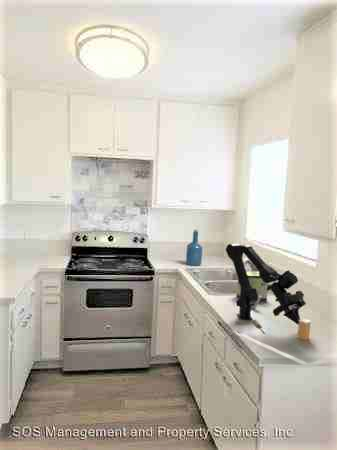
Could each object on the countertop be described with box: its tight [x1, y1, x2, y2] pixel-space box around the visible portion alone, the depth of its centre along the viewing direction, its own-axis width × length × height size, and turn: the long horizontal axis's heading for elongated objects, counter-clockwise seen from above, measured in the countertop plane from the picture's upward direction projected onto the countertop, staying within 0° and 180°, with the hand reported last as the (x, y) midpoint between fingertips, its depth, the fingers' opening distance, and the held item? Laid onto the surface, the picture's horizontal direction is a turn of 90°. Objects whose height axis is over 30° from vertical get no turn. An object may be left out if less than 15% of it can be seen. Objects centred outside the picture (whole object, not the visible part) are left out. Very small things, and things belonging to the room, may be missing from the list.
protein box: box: [236, 271, 269, 302], centre depth 220 cm, size 10×16×16 cm
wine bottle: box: [185, 229, 203, 267], centre depth 308 cm, size 14×13×30 cm
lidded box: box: [296, 317, 312, 341], centre depth 160 cm, size 4×4×8 cm
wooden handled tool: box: [251, 319, 266, 335], centre depth 170 cm, size 14×2×2 cm, turn 5°
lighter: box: [251, 295, 262, 310], centre depth 201 cm, size 7×2×8 cm, turn 55°
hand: (300, 324), depth 162 cm, fingers closed, pressing on lidded box
